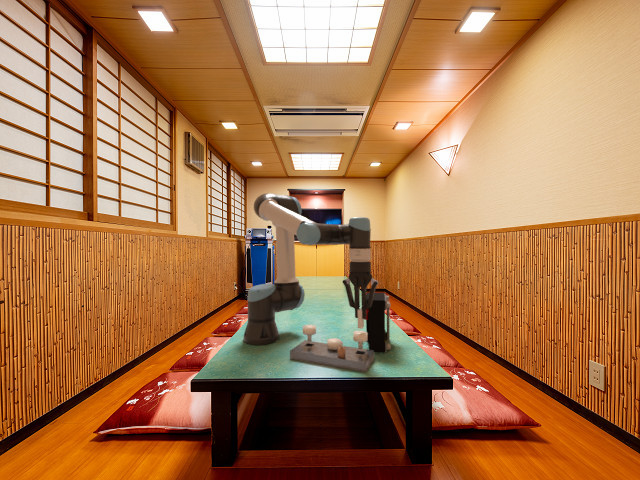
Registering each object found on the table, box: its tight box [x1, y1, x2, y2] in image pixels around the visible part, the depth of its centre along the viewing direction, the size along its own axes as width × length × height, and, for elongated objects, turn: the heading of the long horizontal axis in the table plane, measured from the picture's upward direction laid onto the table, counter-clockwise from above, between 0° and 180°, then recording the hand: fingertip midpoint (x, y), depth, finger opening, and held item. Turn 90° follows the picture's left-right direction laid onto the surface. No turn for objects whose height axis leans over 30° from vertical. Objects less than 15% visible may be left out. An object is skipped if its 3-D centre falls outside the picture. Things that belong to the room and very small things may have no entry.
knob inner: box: [302, 324, 317, 342], centre depth 110 cm, size 5×5×6 cm
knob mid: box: [326, 337, 341, 350], centre depth 106 cm, size 5×5×6 cm
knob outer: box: [352, 330, 368, 349], centre depth 103 cm, size 5×5×6 cm
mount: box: [289, 340, 375, 373], centre depth 105 cm, size 28×12×3 cm, turn 67°
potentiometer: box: [338, 341, 345, 358], centre depth 99 cm, size 3×3×5 cm
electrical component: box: [364, 291, 392, 354], centre depth 119 cm, size 18×10×20 cm, turn 168°
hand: (360, 327), depth 102 cm, fingers closed
